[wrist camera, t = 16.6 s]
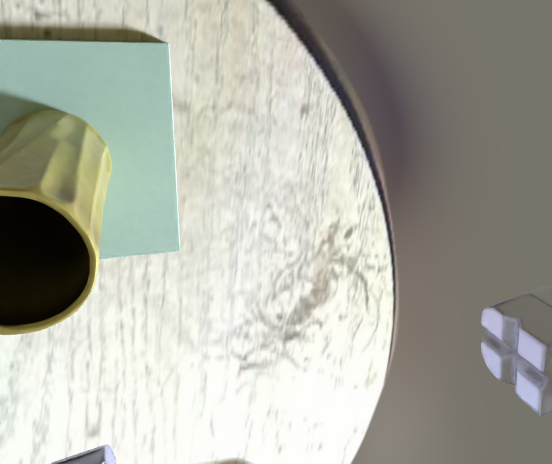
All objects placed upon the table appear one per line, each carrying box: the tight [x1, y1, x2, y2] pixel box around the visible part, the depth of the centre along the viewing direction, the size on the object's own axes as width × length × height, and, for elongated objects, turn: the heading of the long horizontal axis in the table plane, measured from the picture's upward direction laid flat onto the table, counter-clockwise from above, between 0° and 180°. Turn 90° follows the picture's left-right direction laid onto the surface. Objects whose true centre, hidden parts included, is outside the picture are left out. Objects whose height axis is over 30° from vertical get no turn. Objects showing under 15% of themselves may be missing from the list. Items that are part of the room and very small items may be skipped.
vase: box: [0, 110, 112, 335], centre depth 22 cm, size 6×6×14 cm
